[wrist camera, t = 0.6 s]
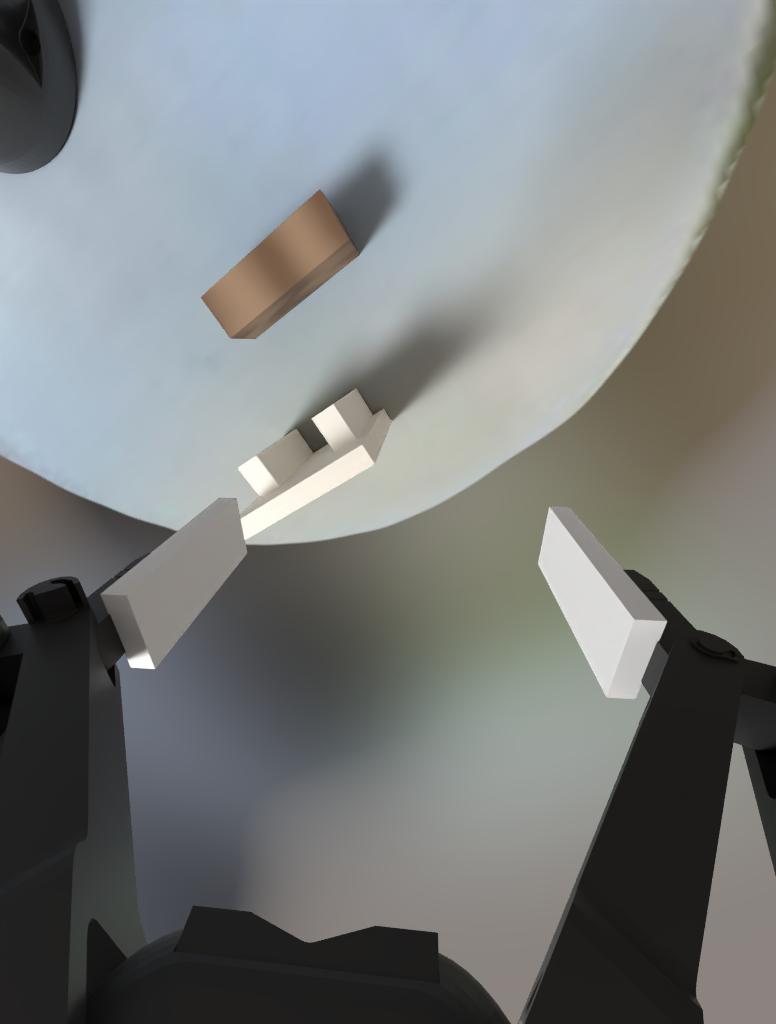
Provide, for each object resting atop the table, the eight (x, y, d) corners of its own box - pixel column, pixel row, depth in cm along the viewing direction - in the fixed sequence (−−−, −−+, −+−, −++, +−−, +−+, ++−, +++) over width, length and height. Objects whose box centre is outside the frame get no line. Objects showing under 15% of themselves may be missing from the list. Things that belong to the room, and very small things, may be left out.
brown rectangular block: (255, 338, 35) (230, 338, 30) (230, 303, 34) (200, 297, 29) (359, 254, 31) (348, 239, 27) (335, 211, 30) (320, 189, 26)
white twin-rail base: (272, 444, 39) (198, 494, 26) (366, 381, 35) (335, 403, 23) (298, 479, 40) (240, 542, 28) (391, 421, 37) (374, 464, 24)
